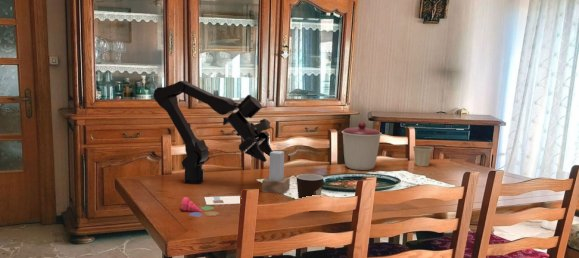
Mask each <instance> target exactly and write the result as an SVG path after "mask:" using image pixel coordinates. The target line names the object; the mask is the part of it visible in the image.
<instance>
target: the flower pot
mask: <svg viewBox="0 0 579 258" xmlns="http://www.w3.org/2000/svg"><path fill="white" fill-rule="evenodd" d="M412 149H413V153H414V165H415V166H418V167H429V165H430V161H431V160H430V159H431V156H432V152H433V150H434V147H432V146H431V147H430V146H427V145H426V146H425V145H424V146H423V145H415V146H412Z"/></svg>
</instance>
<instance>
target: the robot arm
mask: <svg viewBox="0 0 579 258" xmlns="http://www.w3.org/2000/svg"><path fill="white" fill-rule="evenodd" d="M181 94H185V95H186V96H190V97H191V98H193V99H196V100H198V101H200V102H201V103H204V104H206V105H207V106H208V107H210V108H211V109H212V110H213V111H214V112H216V113H217V114H219V115H221V116H223V115H224V116H225V115H228V116H225V117H223V122H222V125H223V126H225V125H228V124H230V125H231V127H232V128H233V129H234V131H235V132H236V136H237V137H240V138H241V139H242V140H243V141H242V142H241V143H240V144H238V149H239V151H240V152H241V153H244V154H245V155H248V156H251V157H252V158H256V159H257V160H259V161H261V162H263V163H265V162H267V158H266V156H265V155H267V156H269V157H270V153H271V152H272V151H273V150H272V147H271V146H270V138H271V135H270V134H269V132H268V131H267V130H269V129H270V130H271V129H272V128H271V122H270V121H269V120H267V119H266V118H263V119H260V120H259V122H258V123H257V124H254V123H253V122H249V120H248V118H249V119H252V118H253V117H254V116H255V115H256V114H257V113H258V112H259V111H260V110H262V109H263V105H262V104H261V102H260V101H259V100H258V99H256V98H255V97H253V96H252V95H251V94H247V95H246V96H245V97H244V99H243V100H241V102H235V100H234V99H232V98H229V97H227V96H226V97H225V96H222V95H221V96H220V95H216V94H213V93H211V92H209V91H206V90H205V89H203V88H201V87H199V86H196V85H194V84H192V83H190V82H189V81H188V80H179V81H177V82H175V83H172V84H169V85H166V86H159V87H156V88H155V89H154V90H153V94H152V96H153V99H154V101H155V102H156V103H157V104H158V106H160V108H162V109H163V110H164V111H165V112H166V113H167V115H168V117H169V118H170V120H171V122H172V123H173V126H174V127H175V129H176V130H177V132H178V134H179V135H180V138H181V139H182V142H184V146H185V147H184V148H185V149H184V150H185V154H186V157H185V158H184V159H183V160H182V161H181V166H182V167H183V168H184V180H183V183H184V184H202V182H203V181H204V180H205V178H204V177H205V176H204V175H205V174H204V173H205V169H204V168H203V165H204V164H205V161H206V160H207V159H208V158H209V156H210V152H209V150H210V147H208V146H207V144H206V141H205V140H204V139H201V140H200V139H198V138H197V136H195V133H194V132H193V129H192V128H191V126H190V125H189V123H188V121H187V119H186V117H185V116H184V114H183V112H182V110H181V108H180V107H179V104H178V103H179V102H178V101H179V100H178V96H179V95H181ZM234 111H235V112H234ZM264 154H265V155H264Z"/></svg>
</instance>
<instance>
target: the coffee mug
mask: <svg viewBox="0 0 579 258" xmlns="http://www.w3.org/2000/svg"><path fill="white" fill-rule="evenodd" d="M324 185H325V184H324V176H323V175H321V174H320V175H319V174H312V173H304V174H301V173H300V174H298V175H296V187H297V199H298V198H302V197H306V196H312V195H321V196H322V190H323V187H324Z"/></svg>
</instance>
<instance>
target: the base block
mask: <svg viewBox="0 0 579 258" xmlns="http://www.w3.org/2000/svg"><path fill="white" fill-rule="evenodd" d="M290 179H291V178H290V177H284V178H283V179H282V180H281V181H271V180H269V176H267V177H266V178H264V179H263V180H261V182H262V184H261V185H262V186H261V192H263V193H270V194H271V193H273V194H281V195H283V194H285V193H286V192H288V191H289V190H290V182H291V180H290Z"/></svg>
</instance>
